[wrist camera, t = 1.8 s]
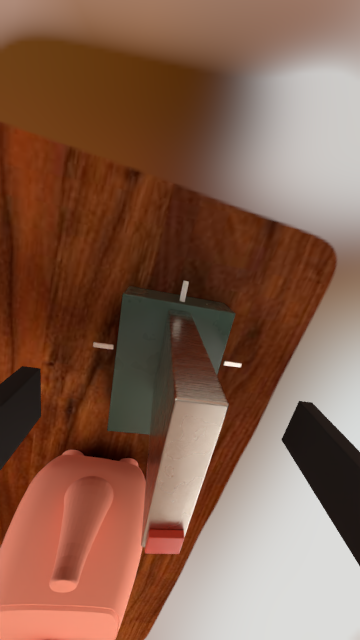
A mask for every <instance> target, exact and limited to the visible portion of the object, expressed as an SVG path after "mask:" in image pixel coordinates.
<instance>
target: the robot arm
mask: <svg viewBox="0 0 360 640" xmlns="http://www.w3.org/2000/svg"><path fill="white" fill-rule="evenodd" d="M40 417H41V383H40V369H39V368H31V367H23V366H22V367H21V368H20V369H18V370H17V371H16V372H15V373H13V374H12V375H11V376H10V377H9V378H7V379H6V380H5V381H4V382H2V383H1V384H0V470H1V469H2V467H3V466H4V465H5V463H6V462H7V461H8V459H9V458H10V457H11V455H12V454H13V453H14V451H15V450H16V449H17V447H18V446H19V445H20V443H21V442H22V441H23V439H24V438H25V437H26V435H27V434H28V433H29V431H30V430H31V429H32V427H33V426H34V425H35V423H36V422H37V421H38V419H39V418H40ZM282 441H283V443H284V444H285V446H286V448H287V449H288V451H289V452H290V454H291V456H292V457H293V459H294V461H295V462H296V464H297V465H298V467H299V468H300V470H301V472H302V474H303V475H304V477H305V478H306V480H307V481H308V483H309V484H310V486H311V488H312V490H313V491H314V493H315V495H316V496H317V498H318V499H319V501H320V503H321V504H322V506H323V507H324V509H325V511H326V512H327V514H328V516H329V517H330V519H331V520H332V522H333V524H334V525H335V527H336V528H337V530H338V532H339V533H340V535H341V537H342V538H343V540H344V541H345V543H346V545H347V546H348V548H349V549H350V551H351V552H352V554H353V556H354V557H355V559H356V561H357V562H358V564H359V566H360V452H359V451H358V450H357V449H356V448H355V447H354V446H353V444H351V443H350V442H349V440H348V439H347V438H346V437H345V436H344V435H343V434H342V433H341V432H340V431H339V430H338V429H337V428H336V427H335V426H334V425H333V424H332V423H331V422H330V421H329V420H328V419H327V418H326V417H325V416H324V415H323V414H322V413H321V412H320V411H319V410H318V408H317V407H316V406H315V405H313V403H310V402H302V401H299V403H298V405H297V407H296V410H295V412H294V414H293V416H292V418H291V420H290V423H289V425H288V427H287V429H286V432H285V434H284V436H283V438H282Z"/></svg>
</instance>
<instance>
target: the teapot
mask: <svg viewBox="0 0 360 640" xmlns="http://www.w3.org/2000/svg"><path fill="white" fill-rule="evenodd" d="M145 487H146V480H145V477H144V474H143V472H142V470H141V469H140V468H139V467H138V462H137V461H136V460H134V459H132V458H124V459H121V460H120V461H116V460H110V459H104V458H97V457H89V456H84V454H83V453H82V452H80V451H78V450H67V451H65V452H64V453H63V454H62V455H61V456H58V457H56V458H55V459H53V460H52V461H50V462H49V463H48V464H47V465H46V466H45V467H44V468H43V469H42V470H41V471H40V472H39V473H38V474H37V475H36V476H35V478H34V479H33V480H32V482H31V483H30V485H29V487H28V489H27V490H26V492H25V494H24V496H23V498H22V500H21V502H20V504H19V506H18V508H17V510H16V512H15V514H14V517H13V519H12V521H11V524H10V526H9V528H8V530H7V533H6V535H5V538H4V540H3V543H2V546H1V548H0V640H115V639H116V636H117V633H118V631H119V628H120V625H121V622H122V619H123V616H124V613H125V610H126V606H127V603H128V600H129V597H130V593H131V590H132V587H133V583H134V580H135V576H136V573H137V569H138V565H139V561H140V556H141V552H142V546H141V537H142V524H143V512H144V499H145Z"/></svg>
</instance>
